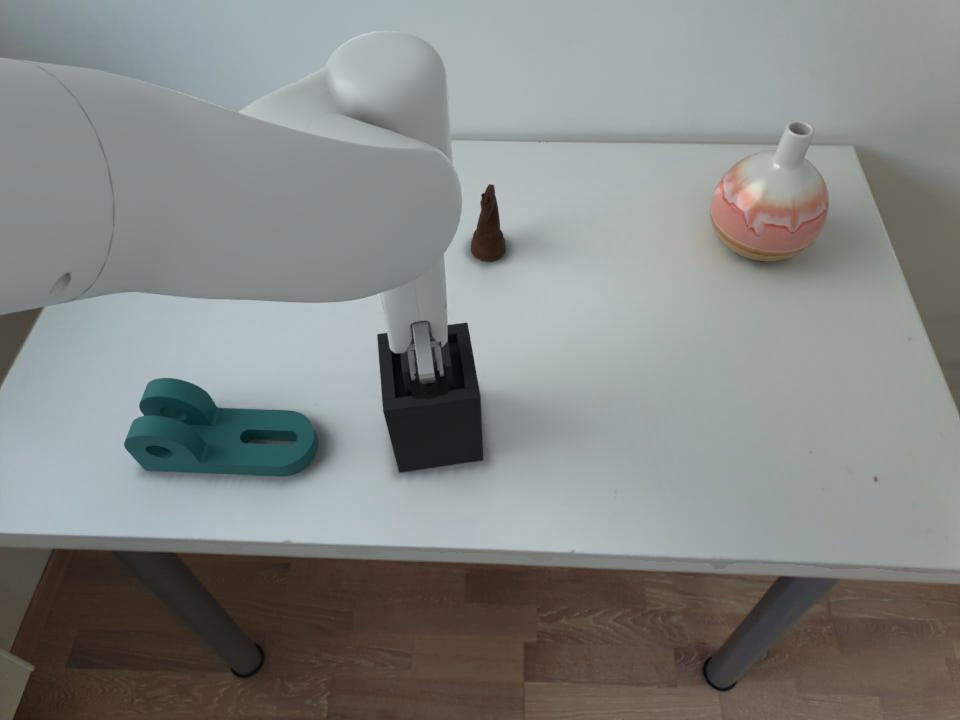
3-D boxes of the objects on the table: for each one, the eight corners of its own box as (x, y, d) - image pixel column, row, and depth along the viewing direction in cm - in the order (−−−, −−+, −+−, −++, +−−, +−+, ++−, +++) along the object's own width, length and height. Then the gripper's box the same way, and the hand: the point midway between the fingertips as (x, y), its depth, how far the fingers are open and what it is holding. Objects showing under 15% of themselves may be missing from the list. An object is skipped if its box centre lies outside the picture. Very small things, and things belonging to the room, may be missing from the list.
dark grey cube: (407, 396, 67) (402, 372, 64) (403, 358, 70) (398, 333, 66) (454, 390, 67) (451, 365, 64) (448, 352, 70) (446, 327, 67)
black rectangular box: (399, 472, 75) (383, 411, 64) (392, 401, 80) (376, 333, 70) (483, 460, 75) (480, 397, 65) (471, 390, 80) (467, 321, 70)
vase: (701, 275, 90) (740, 162, 75) (699, 201, 97) (734, 87, 83) (814, 286, 88) (875, 173, 74) (802, 210, 96) (856, 96, 82)
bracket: (145, 470, 75) (112, 434, 69) (165, 416, 79) (135, 376, 73) (311, 477, 74) (293, 441, 68) (323, 422, 78) (307, 382, 72)
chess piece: (466, 258, 92) (463, 200, 84) (477, 231, 95) (475, 172, 87) (500, 265, 91) (500, 206, 83) (510, 237, 94) (511, 178, 86)
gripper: (348, 142, 56) (378, 285, 70) (358, 308, 46) (391, 437, 60) (442, 132, 57) (453, 276, 71) (472, 294, 47) (478, 425, 61)
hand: (424, 350), depth 65 cm, fingers open, 9 cm apart
